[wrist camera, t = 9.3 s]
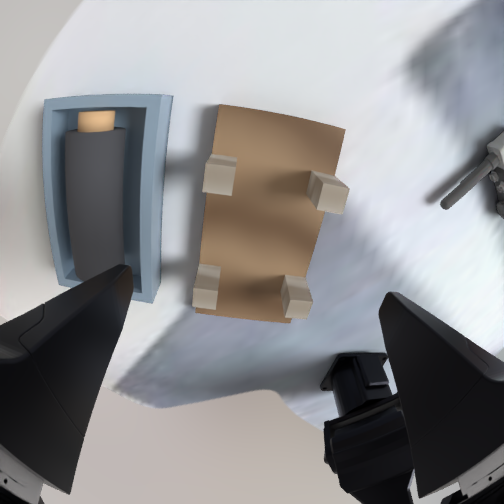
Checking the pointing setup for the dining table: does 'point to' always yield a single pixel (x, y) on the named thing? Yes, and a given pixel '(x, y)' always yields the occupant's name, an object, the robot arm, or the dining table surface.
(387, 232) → the dining table surface
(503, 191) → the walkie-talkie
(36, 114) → the dining table surface
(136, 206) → the tray
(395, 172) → the dining table surface
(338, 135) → the block
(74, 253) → the tan-capped grey cylinder
